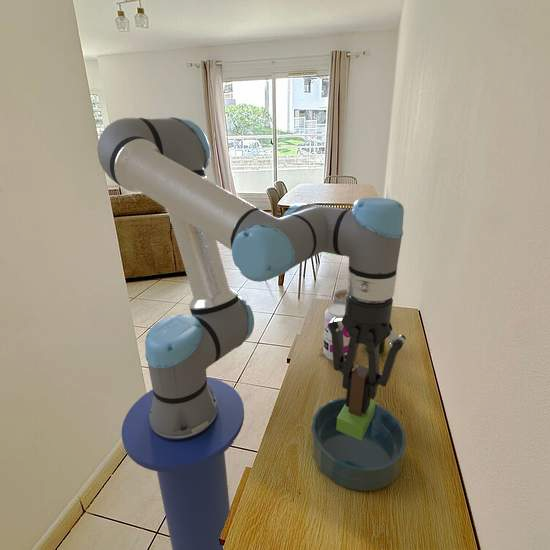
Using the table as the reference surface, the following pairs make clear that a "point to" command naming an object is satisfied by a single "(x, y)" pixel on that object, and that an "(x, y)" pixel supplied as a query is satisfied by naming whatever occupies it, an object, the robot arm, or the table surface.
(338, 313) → the supplement can
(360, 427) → the sponge brush
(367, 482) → the bowl
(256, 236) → the robot arm
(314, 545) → the table surface
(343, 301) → the coffee mug
